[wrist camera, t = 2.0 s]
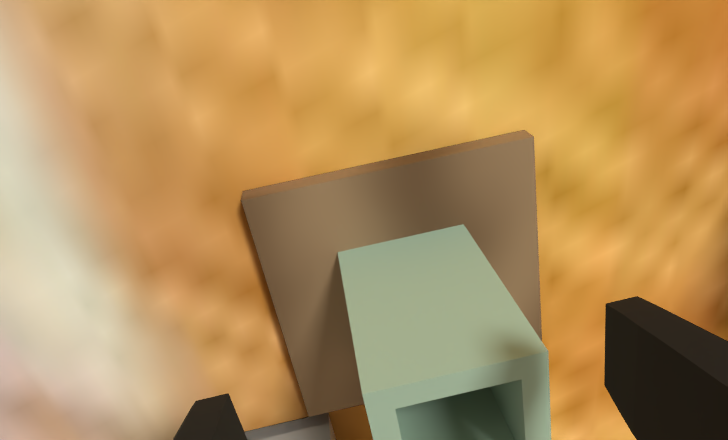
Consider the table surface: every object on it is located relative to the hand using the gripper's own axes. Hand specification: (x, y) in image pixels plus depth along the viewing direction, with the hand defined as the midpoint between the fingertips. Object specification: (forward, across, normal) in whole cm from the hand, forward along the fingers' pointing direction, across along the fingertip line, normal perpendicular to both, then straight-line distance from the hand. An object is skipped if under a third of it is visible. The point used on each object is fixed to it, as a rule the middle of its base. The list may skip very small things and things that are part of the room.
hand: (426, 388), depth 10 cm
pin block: (+10, -1, +4) cm, 11 cm away
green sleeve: (+9, -1, +4) cm, 10 cm away
